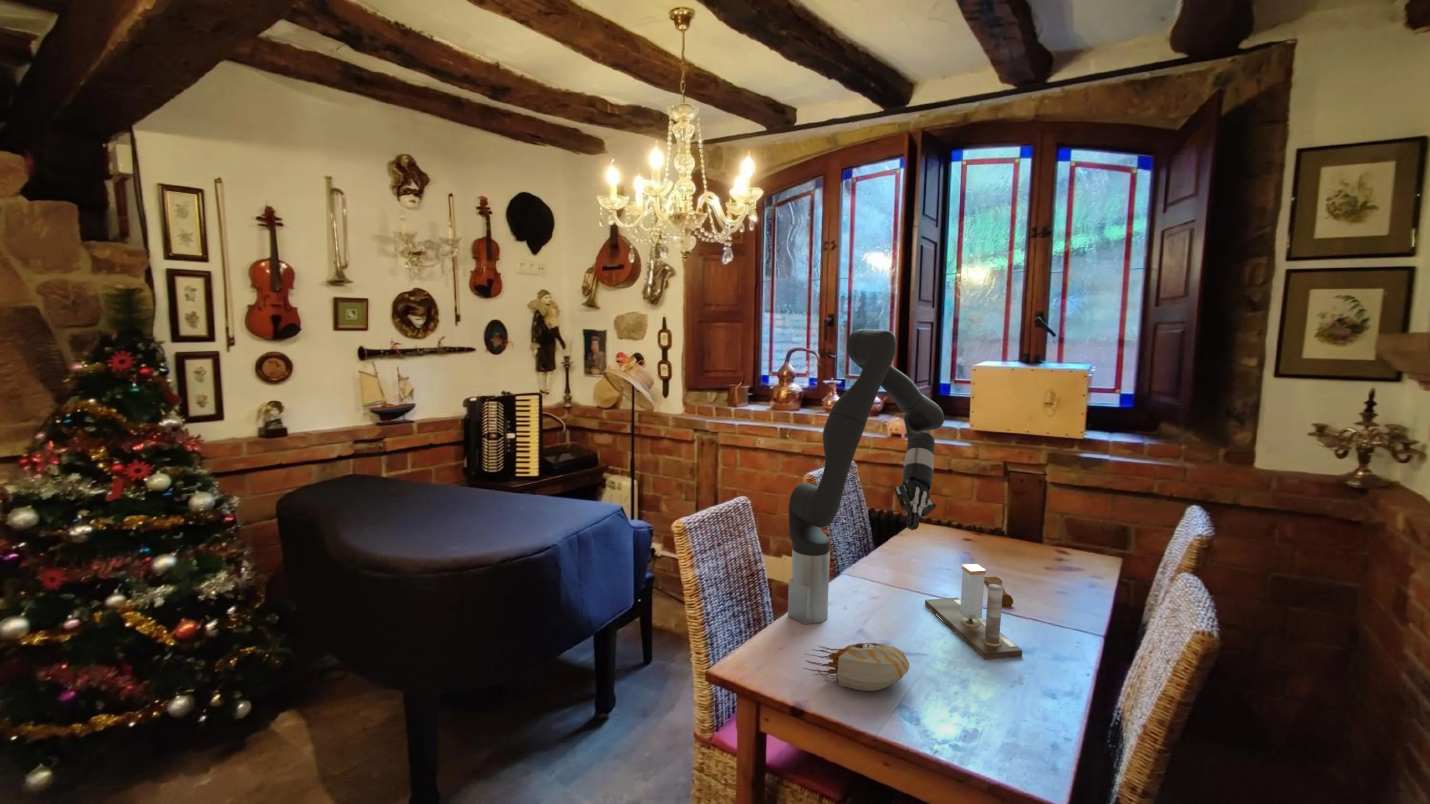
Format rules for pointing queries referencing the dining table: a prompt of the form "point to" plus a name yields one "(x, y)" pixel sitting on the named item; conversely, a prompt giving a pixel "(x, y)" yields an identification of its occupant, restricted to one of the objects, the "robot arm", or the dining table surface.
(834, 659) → the nautilus
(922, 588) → the dining table surface
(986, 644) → the wooden base plate
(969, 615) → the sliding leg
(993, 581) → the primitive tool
